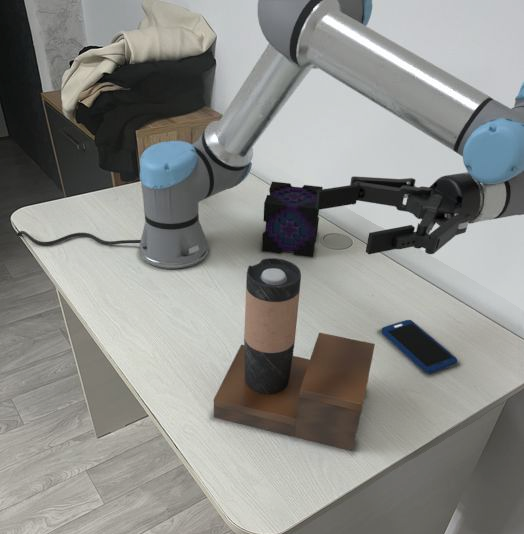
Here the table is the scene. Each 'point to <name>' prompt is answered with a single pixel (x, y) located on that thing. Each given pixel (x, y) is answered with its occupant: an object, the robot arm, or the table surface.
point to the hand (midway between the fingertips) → (341, 220)
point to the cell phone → (419, 346)
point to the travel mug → (270, 324)
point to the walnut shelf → (308, 423)
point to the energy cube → (290, 219)
